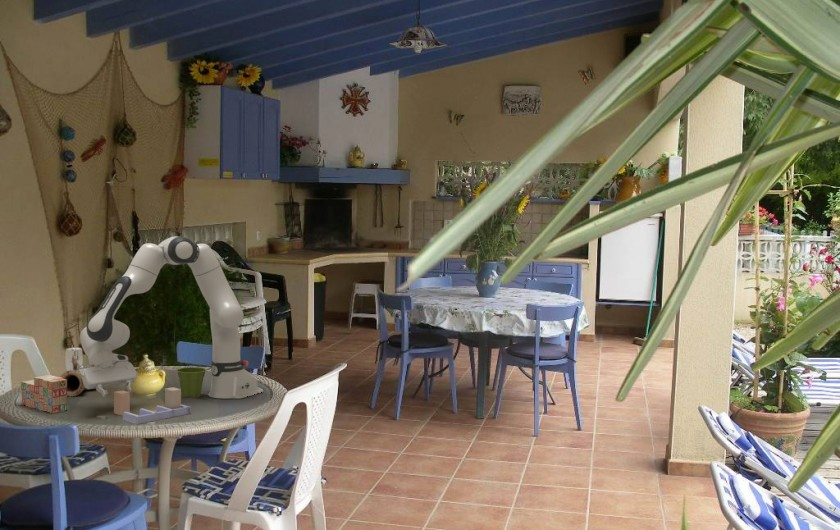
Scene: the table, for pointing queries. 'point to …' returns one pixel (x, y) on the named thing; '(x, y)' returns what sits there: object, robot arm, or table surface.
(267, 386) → the table surface
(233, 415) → the table surface
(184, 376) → the plant pot
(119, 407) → the tan rectangular block
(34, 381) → the stack of blocks
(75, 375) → the clay pipe
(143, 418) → the rack
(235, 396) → the robot arm
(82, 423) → the table surface
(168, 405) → the beige upright block
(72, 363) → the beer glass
